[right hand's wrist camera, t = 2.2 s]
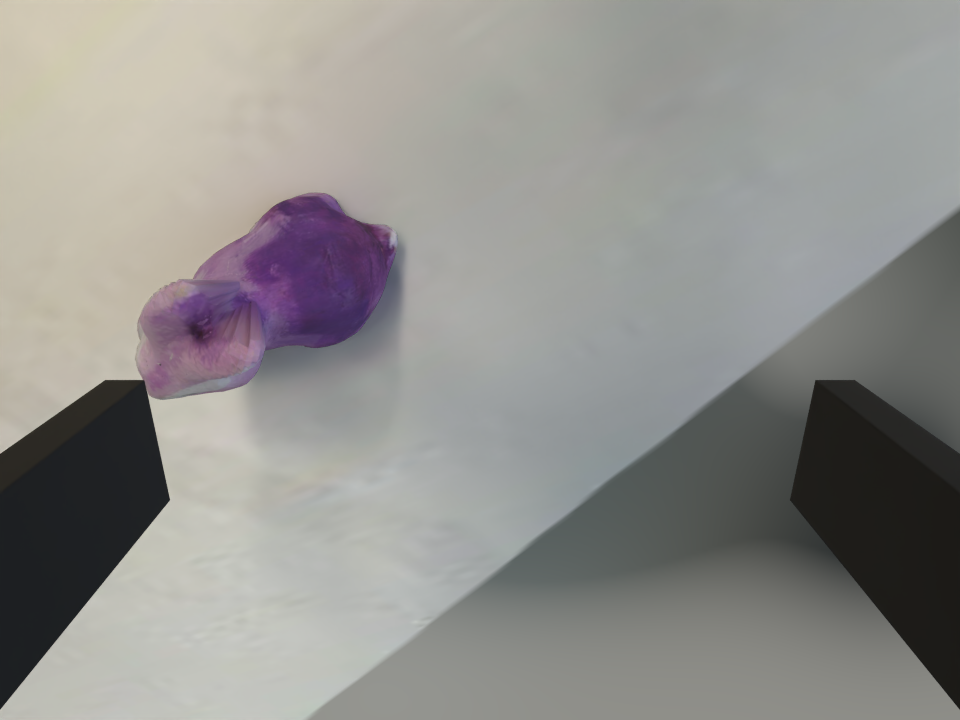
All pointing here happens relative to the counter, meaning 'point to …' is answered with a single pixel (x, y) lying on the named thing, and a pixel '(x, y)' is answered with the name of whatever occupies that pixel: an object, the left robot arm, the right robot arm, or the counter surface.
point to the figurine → (264, 298)
